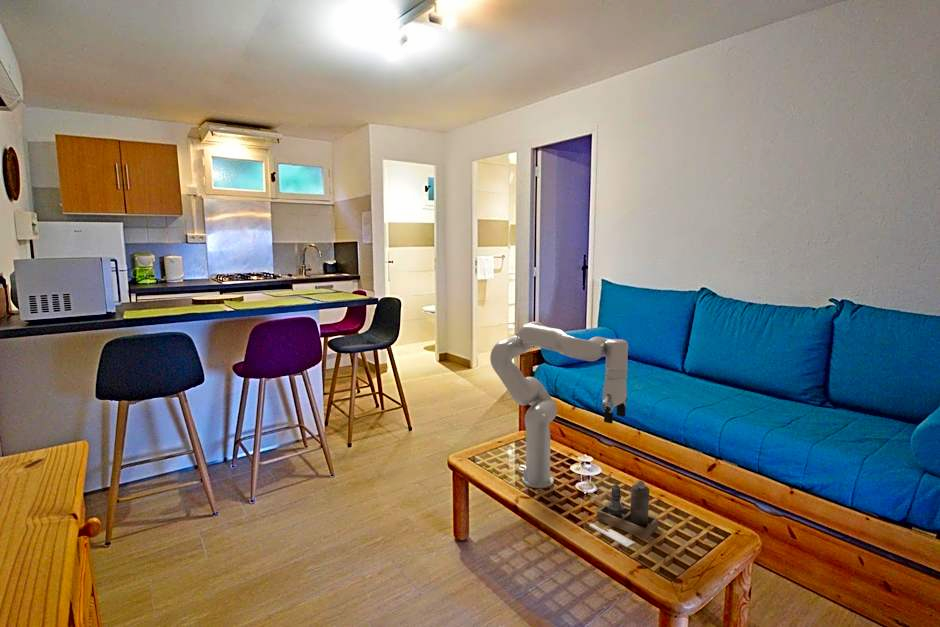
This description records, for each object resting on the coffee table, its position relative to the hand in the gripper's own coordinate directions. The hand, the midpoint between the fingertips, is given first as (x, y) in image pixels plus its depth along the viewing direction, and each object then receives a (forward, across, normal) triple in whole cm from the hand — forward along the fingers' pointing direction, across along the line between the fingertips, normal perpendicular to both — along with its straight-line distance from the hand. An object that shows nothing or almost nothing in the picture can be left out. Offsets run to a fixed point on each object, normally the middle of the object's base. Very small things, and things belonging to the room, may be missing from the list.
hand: (614, 419), depth 179 cm
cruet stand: (+30, +13, +12) cm, 35 cm away
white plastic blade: (+31, +22, +11) cm, 40 cm away
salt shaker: (+30, +13, +8) cm, 33 cm away
